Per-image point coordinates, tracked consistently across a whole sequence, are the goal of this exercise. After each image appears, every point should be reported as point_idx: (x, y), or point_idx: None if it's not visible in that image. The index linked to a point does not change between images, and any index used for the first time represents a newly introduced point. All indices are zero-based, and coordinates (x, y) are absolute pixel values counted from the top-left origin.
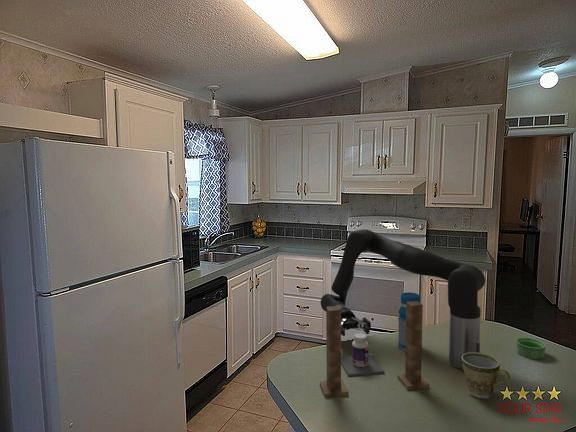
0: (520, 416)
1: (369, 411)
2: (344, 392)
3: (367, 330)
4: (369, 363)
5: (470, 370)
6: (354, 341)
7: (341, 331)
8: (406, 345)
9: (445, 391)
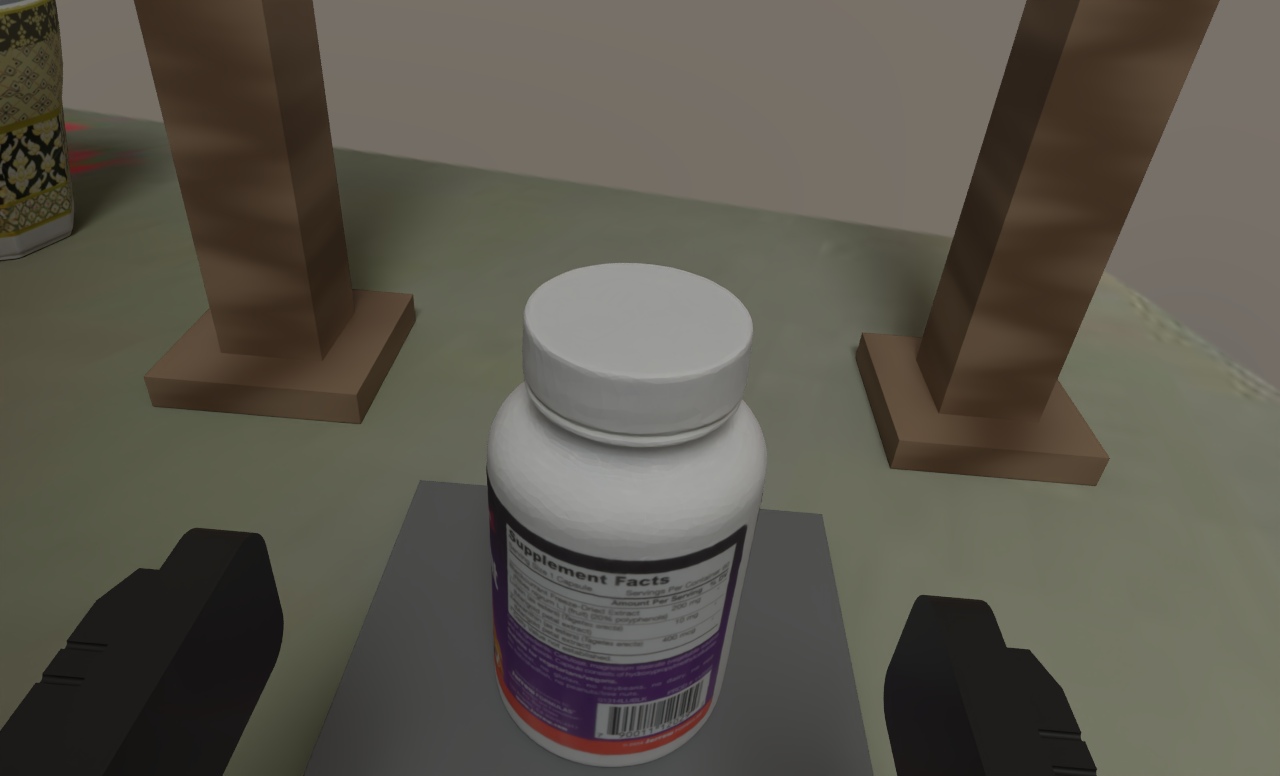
0: (75, 139)
1: (757, 261)
2: (891, 337)
3: (251, 556)
4: (482, 643)
5: (59, 40)
6: (730, 428)
7: (1014, 657)
8: (277, 39)
9: (178, 272)
